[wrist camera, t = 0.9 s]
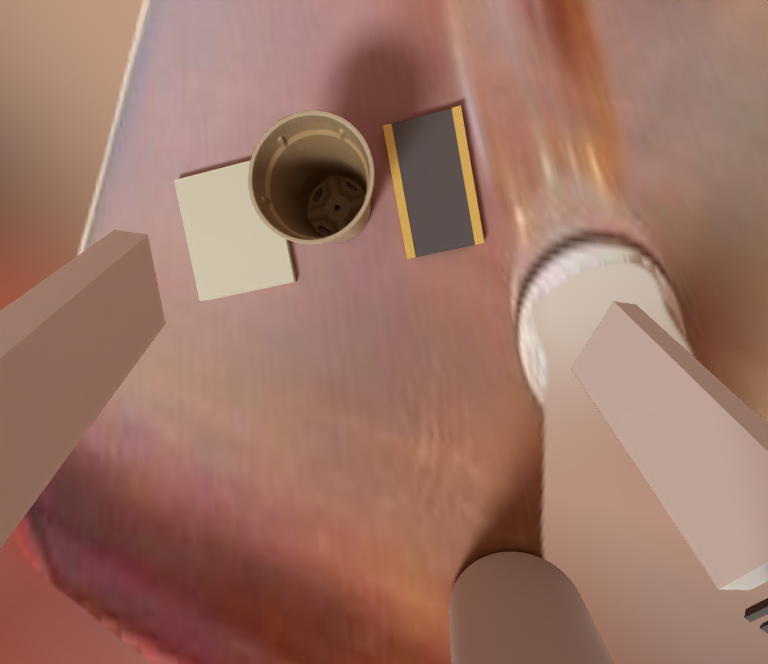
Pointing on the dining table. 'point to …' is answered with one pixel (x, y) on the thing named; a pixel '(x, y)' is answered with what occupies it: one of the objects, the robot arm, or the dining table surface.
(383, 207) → the dining table surface
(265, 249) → the pad
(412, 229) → the trap mat
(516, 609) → the cylinder vase
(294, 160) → the flower pot
